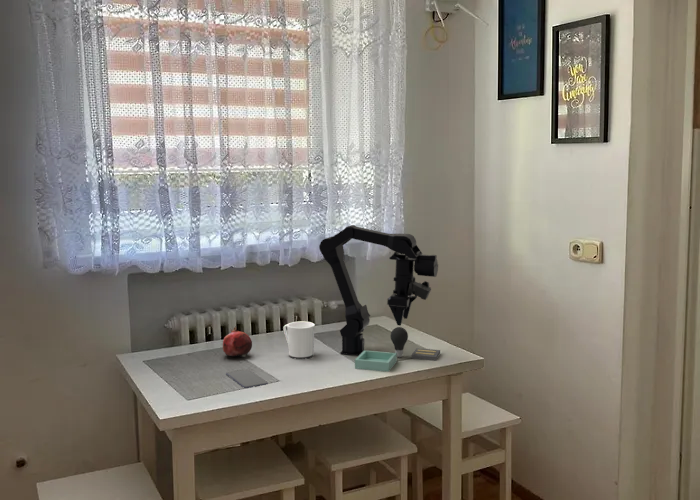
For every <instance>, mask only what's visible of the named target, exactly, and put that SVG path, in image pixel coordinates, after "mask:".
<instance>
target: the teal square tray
mask: <svg viewBox="0 0 700 500" xmlns="http://www.w3.org/2000/svg"><path fill="white" fill-rule="evenodd" d="M397 359H398V357H397V353H395V352H389V351H387V352H386V351H379V350H378V351H377V350H365V349H364V351H363V352H362V353H361V354H360V355H357V357H356V358H354V369H357V370H365V371H366V370H368V371H378V372H387V373H389V372H390V370H391V369H392V368H393V367H394V366H395V365H396V363H397V362H398V361H397Z"/></svg>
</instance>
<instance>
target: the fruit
mask: <svg viewBox="0 0 700 500" xmlns="http://www.w3.org/2000/svg"><path fill="white" fill-rule="evenodd" d="M230 331H231V332H230V333H228V334H227V335H225V336H224V337H223V341H222V350H223V352H224V354H226V355H227V356H229V357H245V358H247V355H248V354H249V353H250V352H251V350H252V347H253V341H252V339H251V337H250V336H249V334H247V333H245V332H244V331H239V330H238V329H237V325H234V327H233V329H230Z"/></svg>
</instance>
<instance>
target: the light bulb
mask: <svg viewBox="0 0 700 500" xmlns="http://www.w3.org/2000/svg"><path fill="white" fill-rule="evenodd" d="M408 338H409V333H408V331H407V329H406V328H404V327H402V326H397V327H395V328H394V329H392V330H391V333H390V340H391V342H392V344H393V346H394V350H395V352H394V353H397V359H400V358H402V356H403V355H404V348H405V345H406V344H407V342H408Z"/></svg>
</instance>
